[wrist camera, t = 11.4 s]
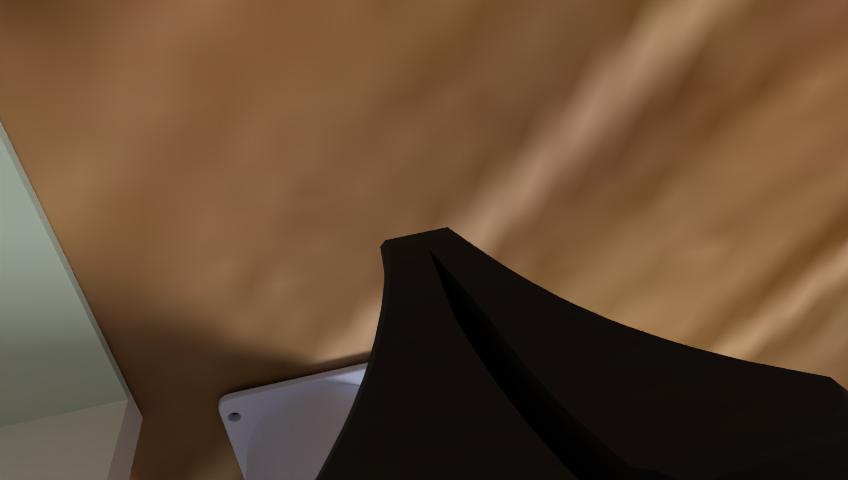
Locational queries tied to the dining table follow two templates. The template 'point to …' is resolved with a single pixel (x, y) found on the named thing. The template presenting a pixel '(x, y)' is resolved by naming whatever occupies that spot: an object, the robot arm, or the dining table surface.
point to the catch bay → (53, 355)
